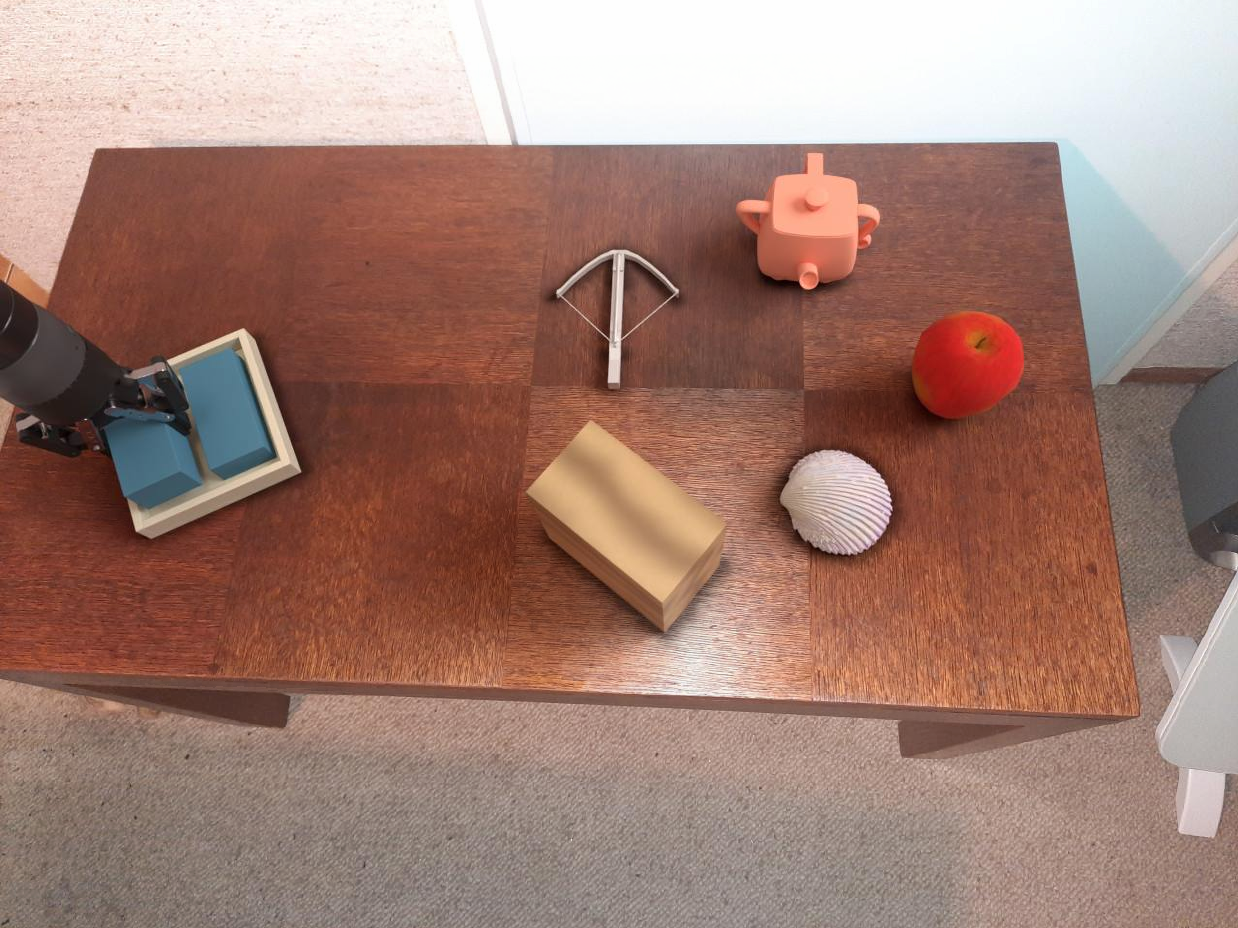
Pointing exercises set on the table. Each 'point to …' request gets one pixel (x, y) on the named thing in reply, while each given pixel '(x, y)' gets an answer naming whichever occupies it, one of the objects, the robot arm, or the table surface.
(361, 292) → the table surface
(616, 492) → the tan wooden block
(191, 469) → the blue rectangular block
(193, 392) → the blue brick
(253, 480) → the cream tray
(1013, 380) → the apple
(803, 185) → the teapot
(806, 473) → the seashell
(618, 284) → the crossbow
